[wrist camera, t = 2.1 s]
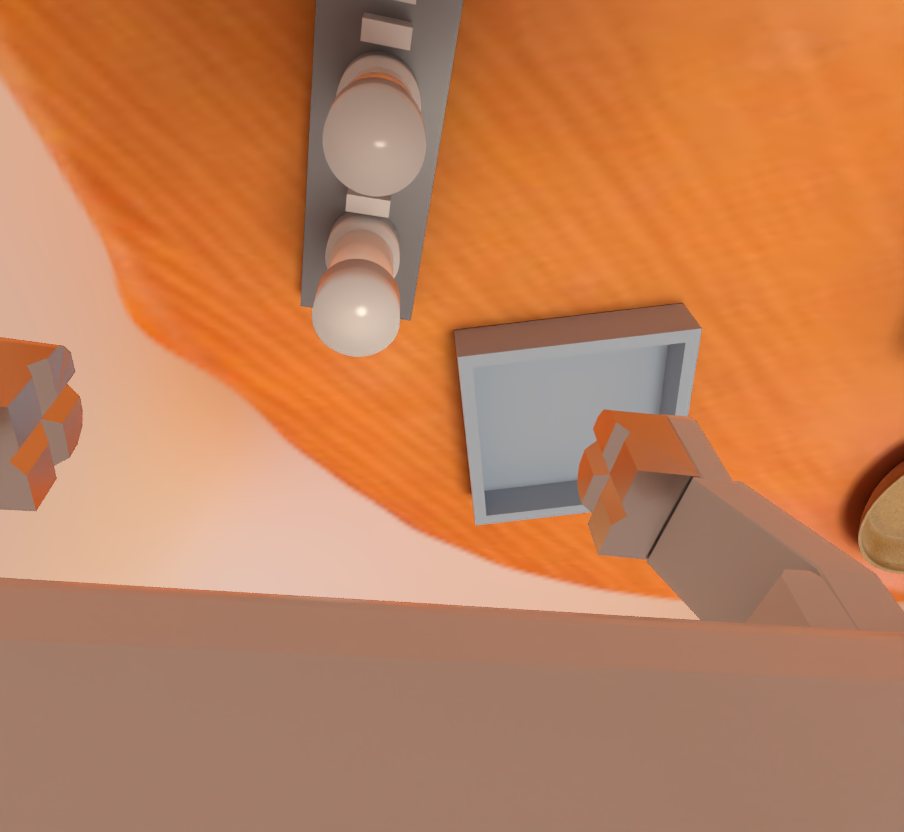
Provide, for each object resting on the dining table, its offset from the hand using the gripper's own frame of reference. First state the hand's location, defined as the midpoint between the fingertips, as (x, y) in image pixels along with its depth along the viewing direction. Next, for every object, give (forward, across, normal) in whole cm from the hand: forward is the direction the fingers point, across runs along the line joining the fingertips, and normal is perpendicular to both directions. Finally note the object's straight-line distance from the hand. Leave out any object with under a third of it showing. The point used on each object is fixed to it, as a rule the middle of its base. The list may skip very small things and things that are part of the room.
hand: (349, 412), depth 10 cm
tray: (+25, -14, +17) cm, 33 cm away
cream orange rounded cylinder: (+24, 0, 0) cm, 24 cm away
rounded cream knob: (+24, 0, +7) cm, 25 cm away
